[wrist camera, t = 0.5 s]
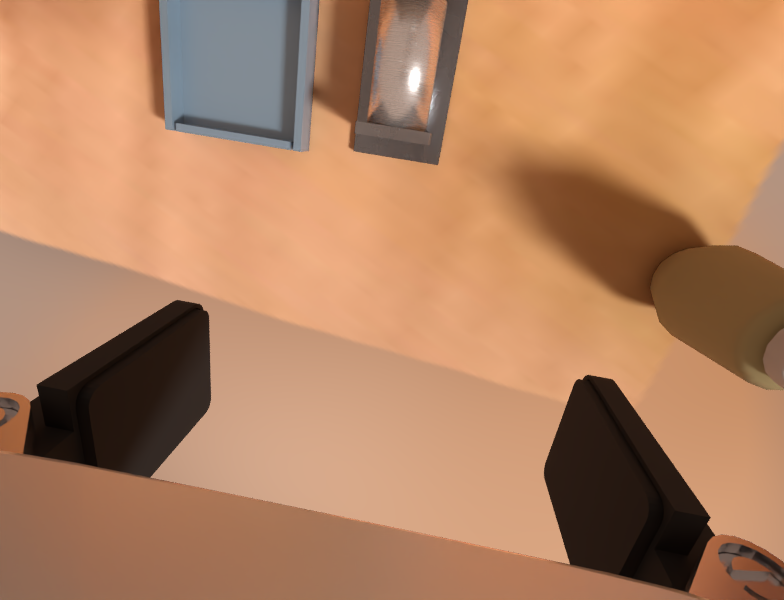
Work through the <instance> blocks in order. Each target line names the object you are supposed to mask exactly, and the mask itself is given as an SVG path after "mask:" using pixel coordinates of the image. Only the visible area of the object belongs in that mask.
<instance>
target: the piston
mask: <svg viewBox="0 0 784 600" xmlns="http://www.w3.org/2000/svg"><path fill="white" fill-rule="evenodd" d="M447 4H448V3H447V1H446V0H381V6H380V15H379V23H378V32H377V40H376V49H375V57H374V66H373V74H372V83H371V91H370V100H369V108H368V117H367V123H366V122H360V121H356V125H355V133H356V134H362V135H368V136H374V137H380V138H387V139H393V140H399V141H405V142H411V143H417V144H423V145H430V143H431V137H432V133H428V132H426V129H427V123H428V117H429V111H430V105H431V99H432V94H433V88H434V82H435V76H436V70H437V64H438V58H439V52H440V46H441V40H442V34H443V28H444V22H445V16H446V10H447Z"/></svg>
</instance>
